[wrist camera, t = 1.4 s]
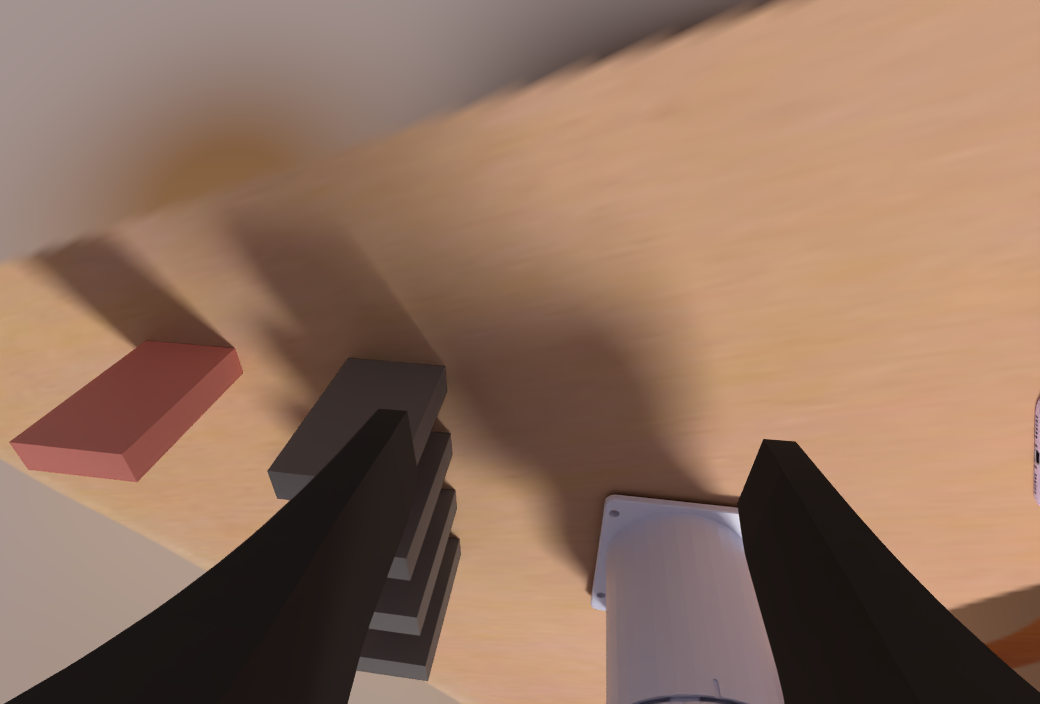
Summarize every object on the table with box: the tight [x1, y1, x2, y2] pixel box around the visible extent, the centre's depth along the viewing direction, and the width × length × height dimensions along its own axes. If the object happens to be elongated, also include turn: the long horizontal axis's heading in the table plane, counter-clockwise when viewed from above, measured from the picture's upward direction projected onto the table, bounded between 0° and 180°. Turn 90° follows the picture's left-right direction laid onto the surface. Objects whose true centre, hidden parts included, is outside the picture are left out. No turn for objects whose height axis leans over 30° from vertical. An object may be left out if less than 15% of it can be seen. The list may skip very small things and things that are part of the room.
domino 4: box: [356, 538, 461, 681], centre depth 28 cm, size 1×4×7 cm, turn 90°
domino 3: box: [369, 489, 457, 636], centre depth 26 cm, size 1×4×7 cm, turn 90°
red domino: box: [9, 341, 243, 482], centre depth 22 cm, size 1×4×7 cm, turn 89°
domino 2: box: [387, 432, 452, 580], centre depth 24 cm, size 1×4×7 cm, turn 89°
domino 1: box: [268, 358, 447, 500], centre depth 21 cm, size 1×4×7 cm, turn 90°
